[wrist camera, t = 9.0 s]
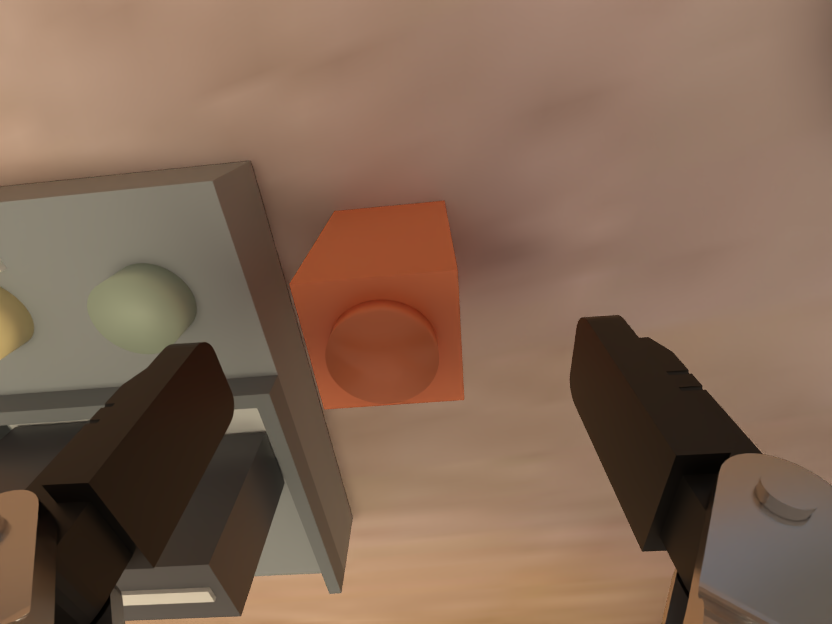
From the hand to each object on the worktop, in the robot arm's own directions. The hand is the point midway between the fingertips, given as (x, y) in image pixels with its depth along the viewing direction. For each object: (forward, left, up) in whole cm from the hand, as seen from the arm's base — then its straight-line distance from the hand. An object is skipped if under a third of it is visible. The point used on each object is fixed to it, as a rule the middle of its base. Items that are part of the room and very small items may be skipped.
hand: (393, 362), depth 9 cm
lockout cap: (-1, 0, -7) cm, 7 cm away
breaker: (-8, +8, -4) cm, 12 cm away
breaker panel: (-7, +11, -7) cm, 15 cm away
